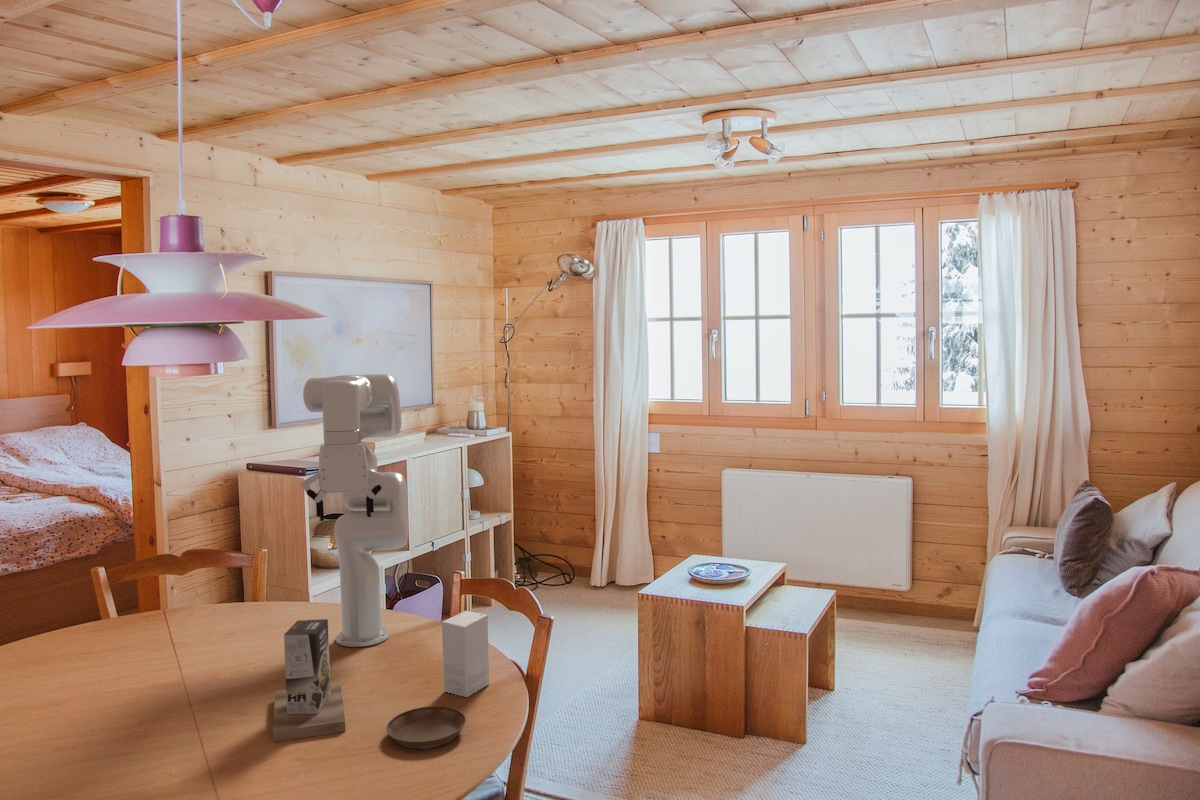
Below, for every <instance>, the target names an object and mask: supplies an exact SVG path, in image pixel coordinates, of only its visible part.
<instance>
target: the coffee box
mask: <svg viewBox="0 0 1200 800" xmlns="http://www.w3.org/2000/svg"><path fill="white" fill-rule="evenodd" d="M328 622H329V620H328V619H323V618H322V619H307V620H306V619H305V620H296V622H294V624H293V625H292V626H291V627H290V628H289V629H288V630H287V631H286V632H285V633H284V634H283V636H284V637H283V639H284V642H283V643H284V644H283V645H284V665H285V666H284V668H285V669H284V671H285V690H286V699H287V714H318V713H319V712H320V710H321V709H322V708H323V706H324V705H325V703H326V702H327V700H328V699H329V697H330V696H331V685H330V684H331V669H330V668H331V667H330V645H329V643H330V641H329V623H328Z"/></svg>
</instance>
